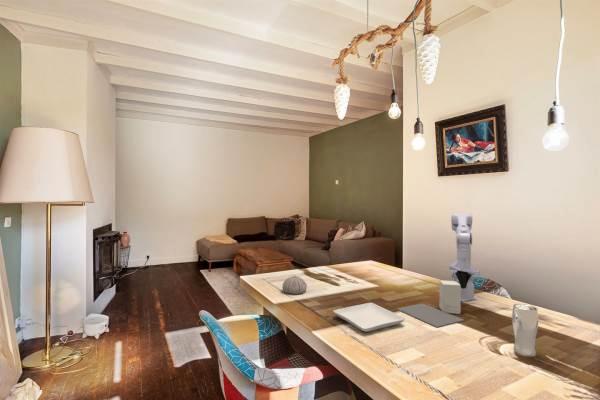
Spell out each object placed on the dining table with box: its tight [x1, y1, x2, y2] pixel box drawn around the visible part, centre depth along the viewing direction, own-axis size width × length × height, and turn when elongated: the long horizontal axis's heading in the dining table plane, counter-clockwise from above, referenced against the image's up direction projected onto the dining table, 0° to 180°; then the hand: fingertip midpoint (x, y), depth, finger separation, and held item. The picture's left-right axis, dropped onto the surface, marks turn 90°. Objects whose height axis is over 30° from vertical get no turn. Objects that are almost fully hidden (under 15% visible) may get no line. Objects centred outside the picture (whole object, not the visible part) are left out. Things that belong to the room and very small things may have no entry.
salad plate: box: [333, 302, 406, 333], centre depth 130 cm, size 21×21×3 cm
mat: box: [396, 303, 465, 329], centre depth 137 cm, size 16×22×1 cm
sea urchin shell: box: [281, 275, 308, 295], centre depth 170 cm, size 13×14×8 cm
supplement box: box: [438, 280, 462, 315], centre depth 143 cm, size 7×7×13 cm
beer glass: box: [511, 303, 539, 358], centre depth 105 cm, size 7×7×15 cm
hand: (463, 288), depth 147 cm, fingers closed
